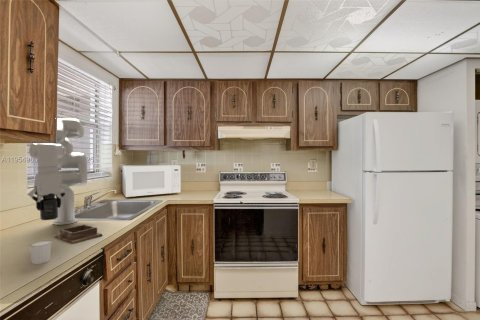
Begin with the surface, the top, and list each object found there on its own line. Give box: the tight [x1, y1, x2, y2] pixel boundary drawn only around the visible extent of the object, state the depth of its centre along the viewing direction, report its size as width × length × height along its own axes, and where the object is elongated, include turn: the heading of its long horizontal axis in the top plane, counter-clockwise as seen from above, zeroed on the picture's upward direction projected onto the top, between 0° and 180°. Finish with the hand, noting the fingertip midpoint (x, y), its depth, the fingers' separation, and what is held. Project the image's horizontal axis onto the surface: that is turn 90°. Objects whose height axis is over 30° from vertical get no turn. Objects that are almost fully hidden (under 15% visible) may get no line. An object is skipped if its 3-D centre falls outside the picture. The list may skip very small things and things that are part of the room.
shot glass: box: [28, 240, 52, 265], centre depth 104 cm, size 7×7×7 cm
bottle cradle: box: [54, 223, 103, 244], centre depth 135 cm, size 18×14×4 cm
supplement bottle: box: [39, 193, 58, 221], centre depth 124 cm, size 7×7×12 cm
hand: (49, 208), depth 124 cm, fingers closed on supplement bottle, 6 cm apart
